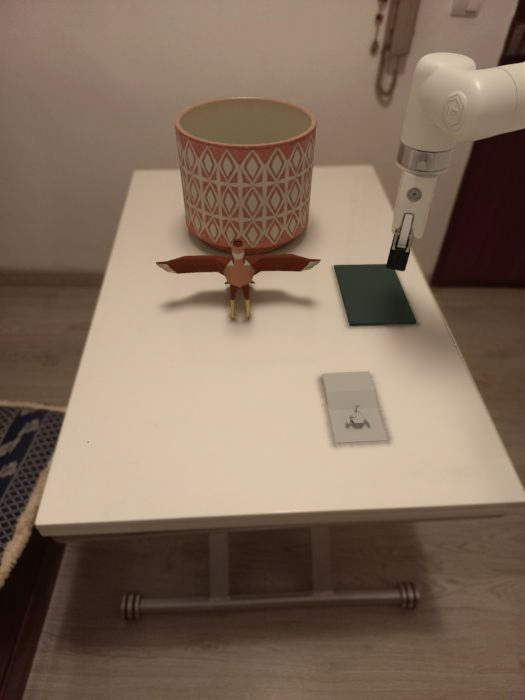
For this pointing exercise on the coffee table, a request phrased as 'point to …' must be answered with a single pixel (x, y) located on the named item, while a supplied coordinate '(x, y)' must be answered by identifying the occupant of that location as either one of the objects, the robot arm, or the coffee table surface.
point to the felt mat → (373, 295)
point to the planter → (246, 170)
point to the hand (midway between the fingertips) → (397, 260)
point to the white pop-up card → (353, 407)
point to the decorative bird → (238, 267)
